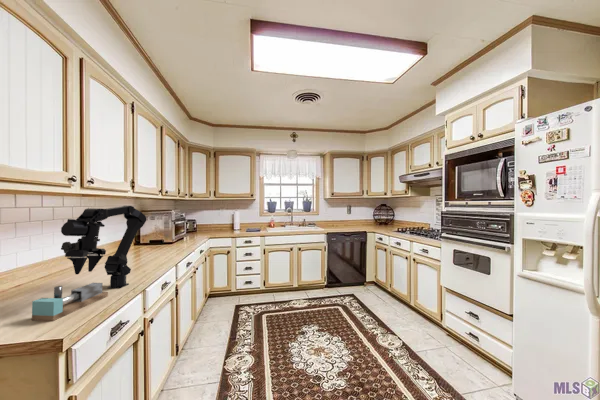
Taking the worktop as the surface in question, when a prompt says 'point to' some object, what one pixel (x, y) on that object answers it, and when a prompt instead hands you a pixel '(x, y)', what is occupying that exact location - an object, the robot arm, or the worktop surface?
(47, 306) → the socket block
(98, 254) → the robot arm
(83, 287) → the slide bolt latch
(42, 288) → the worktop surface
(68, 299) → the slip tube
